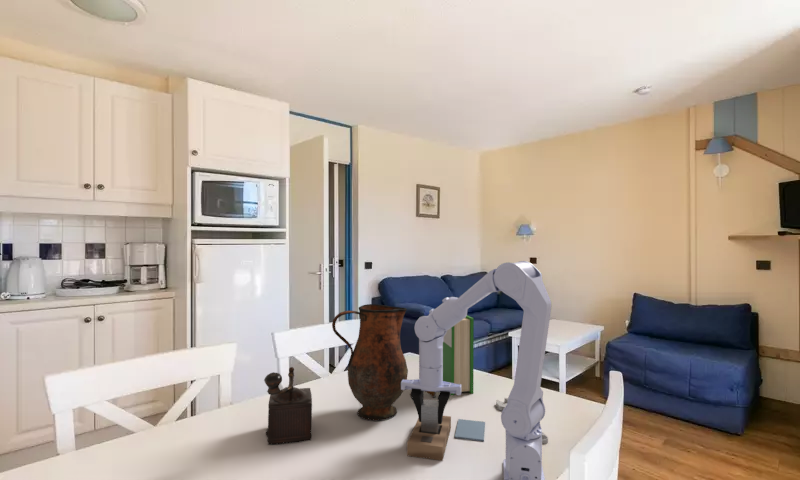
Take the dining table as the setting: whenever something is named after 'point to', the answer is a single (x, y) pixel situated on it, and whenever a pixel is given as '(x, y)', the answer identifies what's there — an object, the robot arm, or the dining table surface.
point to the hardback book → (459, 354)
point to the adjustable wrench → (502, 406)
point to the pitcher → (376, 360)
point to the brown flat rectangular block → (429, 441)
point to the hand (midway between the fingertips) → (430, 421)
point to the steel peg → (430, 417)
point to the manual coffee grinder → (288, 411)
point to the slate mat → (470, 430)
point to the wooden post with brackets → (430, 393)
